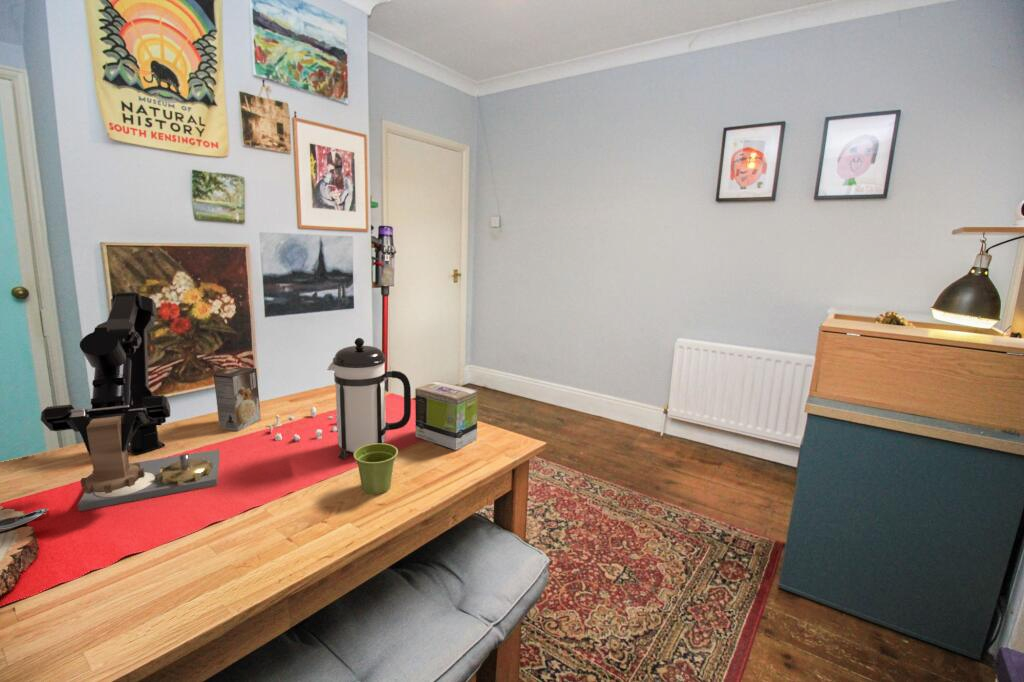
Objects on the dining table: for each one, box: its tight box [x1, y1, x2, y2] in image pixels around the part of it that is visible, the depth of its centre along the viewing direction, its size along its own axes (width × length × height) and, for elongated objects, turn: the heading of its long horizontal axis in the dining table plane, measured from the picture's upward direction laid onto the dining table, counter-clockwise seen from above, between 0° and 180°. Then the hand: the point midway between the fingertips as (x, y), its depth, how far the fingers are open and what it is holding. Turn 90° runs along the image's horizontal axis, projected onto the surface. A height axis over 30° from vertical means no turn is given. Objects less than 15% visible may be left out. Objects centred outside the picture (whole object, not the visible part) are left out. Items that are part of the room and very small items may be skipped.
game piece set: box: [269, 406, 337, 442], centre depth 134 cm, size 19×20×4 cm
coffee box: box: [213, 366, 262, 432], centre depth 133 cm, size 9×6×16 cm
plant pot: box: [353, 442, 399, 495], centre depth 103 cm, size 9×9×9 cm
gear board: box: [77, 449, 221, 512], centre depth 104 cm, size 16×23×2 cm
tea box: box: [414, 380, 479, 451], centre depth 130 cm, size 15×10×15 cm
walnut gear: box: [80, 416, 145, 494], centre depth 90 cm, size 9×9×12 cm
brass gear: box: [157, 453, 213, 486], centre depth 103 cm, size 10×10×4 cm
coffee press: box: [326, 337, 412, 460], centre depth 120 cm, size 17×16×30 cm
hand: (107, 453), depth 88 cm, fingers closed on walnut gear, 4 cm apart
